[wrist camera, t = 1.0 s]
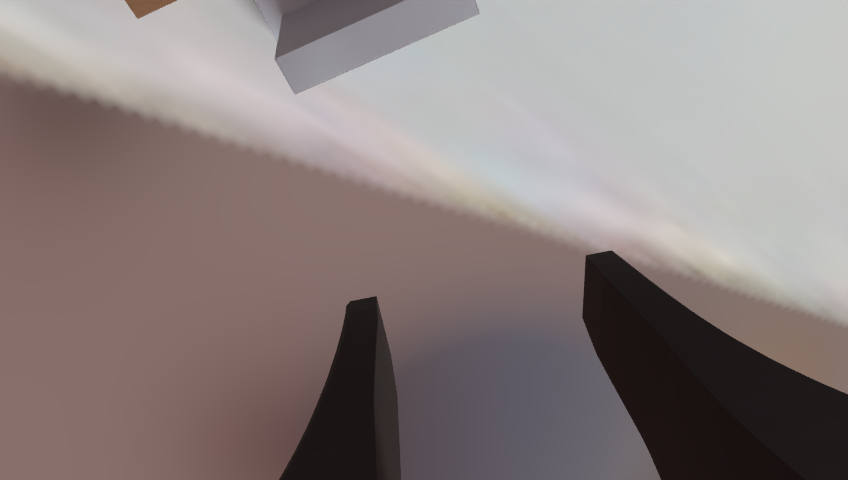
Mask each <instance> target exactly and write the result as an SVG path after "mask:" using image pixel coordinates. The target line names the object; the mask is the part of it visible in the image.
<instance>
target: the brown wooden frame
mask: <svg viewBox="0 0 848 480" xmlns="http://www.w3.org/2000/svg"><path fill="white" fill-rule="evenodd" d="M125 1H126V3H127V4H128V6H129V7H130V9H131V10H132V11H133V13H134V14H135V16H136V17H137V19H138V18H140V17H143V16H145V15H147V14H149V13H151V12H153V11H155V10H157V9H160V8H162V7H164V6H166V5H168V4H170V3H172V2H174V1H177V0H125Z"/></svg>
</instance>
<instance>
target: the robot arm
mask: <svg viewBox="0 0 848 480" xmlns="http://www.w3.org/2000/svg"><path fill="white" fill-rule="evenodd" d="M583 320H584V323H585V325H586V328H587V331H588V333H589V336H590V338H591V341H592V343H593V346H594V348H595V351H596V353H597V356H598V357H599V359H600V361H601V363H602V365H603V367H604V369H605V371H606V372H607V374H608V376H609V378H610V380H611V382H612V383H613V385H614V387H615V389H616V390H617V393H618V394H619V396H620V398H621V400H622V402H623V403H624V405H625V407H626V409H627V411H628V412H629V414H630V416H631V418H632V420H633V422H634V423H635V425H636V427H637V429H638V431H639V433H640V434H641V436H642V438H643V440H644V442H645V444H646V446H647V448H648V450H649V452H650V455H651V457H652V459H653V462H654V464H655V466H656V469H657V471H658V473H659V476H660V478H661V480H848V394H846V393H843V392H841V391H838V390H836V389H834V388H831V387H829V386H827V385H824V384H822V383H820V382H818V381H815V380H813V379H811V378H809V377H807V376H805V375H803V374H801V373H799V372H796V371H794V370H792V369H790V368H788V367H786V366H784V365H782V364H780V363H778V362H776V361H774V360H772V359H770V358H768V357H766V356H765V355H763V354H761V353H759V352H757V351H755V350H754V349H752V348H750V347H748V346H747V345H745V344H743V343H741V342H739V341H738V340H736V339H734V338H733V337H731V336H729V335H728V334H726V333H724V332H722V331H721V330H720V329H718V328H716V327H715V326H713V325H712V324H710V323H709V322H707V321H706V320H704V319H703V318H701V317H700V316H698V315H696V314H695V313H694V312H692V311H691V310H689V309H688V308H687V307H685V306H684V305H682V304H681V303H680V302H678V301H677V300H675V299H674V298H673V297H671V296H670V295H668V294H667V293H666V292H664V291H663V290H662V289H661V288H659V287H658V286H657V285H655V284H654V283H653V282H651V281H650V280H649V279H647V278H646V277H645V276H644V275H642V274H641V273H640V272H639V271H637V270H636V269H635V268H633V267H632V266H631V265H630V264H628V263H627V262H626V261H625V260H623V259H622V258H621V257H619V256H618V255H617V254H615V253H614V252H613V251H606V252H601V253H596V254H591V255H586V263H585V281H584V299H583ZM400 468H401V467H400V446H399V423H398V403H397V391H396V385H395V378H394V372H393V365H392V359H391V353H390V349H389V345H388V341H387V338H386V333H385V329H384V325H383V321H382V317H381V313H380V309H379V305H378V301H377V297H370V298H365V299H360V300H355V301H350V303H349V304H348V305H347V306H346V314H345V319H344V324H343V328H342V332H341V336H340V340H339V343H338V347H337V351H336V354H335V357H334V360H333V363H332V366H331V369H330V372H329V375H328V378H327V380H326V383H325V386H324V388H323V391H322V393H321V396H320V398H319V401H318V403H317V406H316V408H315V410H314V413H313V415H312V417H311V419H310V422H309V424H308V426H307V428H306V431H305V432H304V434H303V436H302V439H301V440H300V442H299V444H298V446H297V449H296V450H295V452H294V454H293V456H292V458H291V460H290V461H289V463H288V465H287V467H286V469H285V470H284V472H283V474H282V476H281V477H280V479H279V480H401V469H400Z"/></svg>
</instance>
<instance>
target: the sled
mask: <svg viewBox="0 0 848 480" xmlns="http://www.w3.org/2000/svg"><path fill="white" fill-rule="evenodd" d="M255 2H256V4H257V6H258V8H259V10H260V11H261V13H262V15H263V17H264V19H265V20H266V22H267V24H268V26H269V28H270V29H271V31H272V33H273V35H274V37H275V39H276V40H277V42H278V43H277V49H276V54H275V60H276V62H277V64H278V66H279V67H280V69H281V71H282V73H283V75H284V76H285V78H286V80H287V82H288V83H289V85H290V87H291V89H292V90H293V92H294V94H298V93H300V92H302V91H304V90H307V89H309V88H311V87H313V86H316V85H318V84H320V83H323V82H325V81H327V80H329V79H332V78H334V77H336V76H339V75H341V74H343V73H345V72H348V71H350V70H352V69H354V68H357V67H359V66H361V65H364V64H366V63H368V62H370V61H373V60H375V59H377V58H380V57H382V56H384V55H386V54H389V53H391V52H393V51H395V50H398V49H400V48H402V47H405V46H407V45H409V44H411V43H414V42H416V41H418V40H421V39H423V38H425V37H427V36H430V35H432V34H434V33H436V32H439V31H441V30H443V29H446V28H448V27H450V26H452V25H455V24H457V23H459V22H461V21H464V20H466V19H468V18H471V17H473V16H475V15H477V14H480V13H479V10H478V7H477V4H476V0H255Z"/></svg>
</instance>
